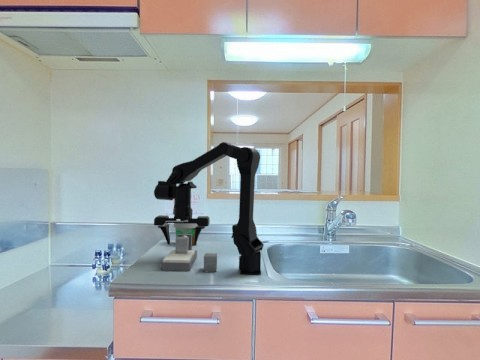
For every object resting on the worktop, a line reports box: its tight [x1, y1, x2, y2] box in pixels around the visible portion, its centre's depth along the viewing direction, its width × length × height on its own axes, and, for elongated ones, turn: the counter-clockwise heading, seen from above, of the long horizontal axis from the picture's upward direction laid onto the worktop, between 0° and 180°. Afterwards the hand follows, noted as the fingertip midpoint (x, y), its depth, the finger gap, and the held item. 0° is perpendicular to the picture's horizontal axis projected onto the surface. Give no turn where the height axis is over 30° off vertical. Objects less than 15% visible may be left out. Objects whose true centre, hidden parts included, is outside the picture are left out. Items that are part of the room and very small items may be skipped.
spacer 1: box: [174, 237, 189, 254], centre depth 114 cm, size 4×4×5 cm
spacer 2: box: [203, 252, 218, 273], centre depth 105 cm, size 4×4×5 cm
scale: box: [161, 234, 198, 272], centre depth 112 cm, size 9×17×8 cm, turn 0°
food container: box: [173, 219, 198, 247], centre depth 139 cm, size 12×6×10 cm, turn 62°
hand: (182, 245), depth 114 cm, fingers open, 9 cm apart
